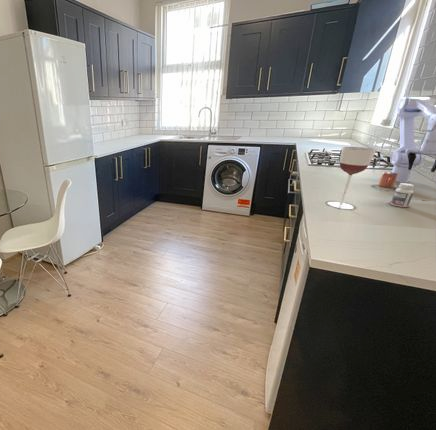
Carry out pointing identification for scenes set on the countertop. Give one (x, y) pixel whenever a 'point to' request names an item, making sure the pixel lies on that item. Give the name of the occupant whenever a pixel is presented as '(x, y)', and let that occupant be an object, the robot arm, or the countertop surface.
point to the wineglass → (353, 167)
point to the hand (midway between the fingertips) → (420, 170)
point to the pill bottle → (403, 195)
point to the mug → (388, 179)
